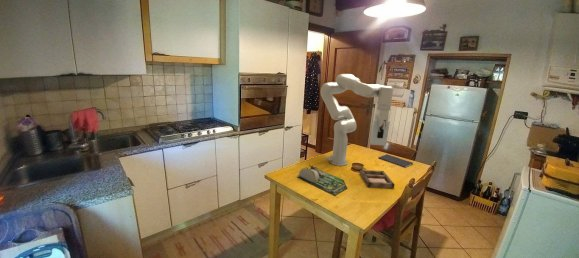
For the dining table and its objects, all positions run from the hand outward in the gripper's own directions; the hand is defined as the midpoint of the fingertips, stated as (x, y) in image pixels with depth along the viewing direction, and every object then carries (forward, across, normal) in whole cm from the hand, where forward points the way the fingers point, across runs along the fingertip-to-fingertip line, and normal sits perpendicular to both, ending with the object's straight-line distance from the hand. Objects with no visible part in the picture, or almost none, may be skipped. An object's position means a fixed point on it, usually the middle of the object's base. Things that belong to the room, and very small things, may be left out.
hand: (378, 136), depth 145 cm
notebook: (+28, -31, +27) cm, 50 cm away
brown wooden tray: (+27, +6, 0) cm, 28 cm away
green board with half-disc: (+28, +6, -33) cm, 44 cm away
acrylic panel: (+5, 0, 0) cm, 5 cm away
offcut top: (+27, +9, 0) cm, 28 cm away
